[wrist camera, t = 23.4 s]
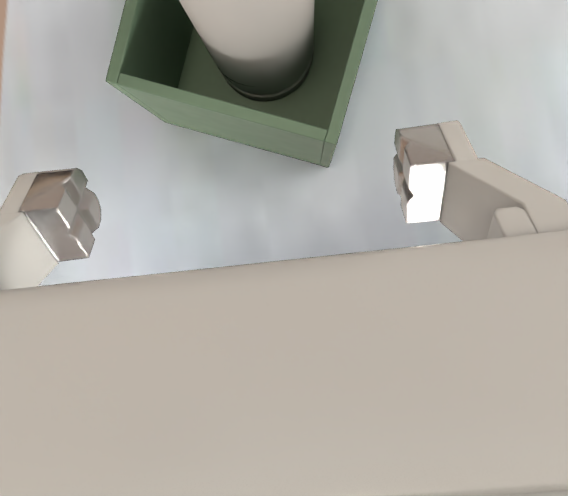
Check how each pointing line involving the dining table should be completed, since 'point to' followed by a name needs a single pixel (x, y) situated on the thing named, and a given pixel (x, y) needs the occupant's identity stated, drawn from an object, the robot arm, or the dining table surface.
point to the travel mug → (257, 42)
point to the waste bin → (221, 96)
